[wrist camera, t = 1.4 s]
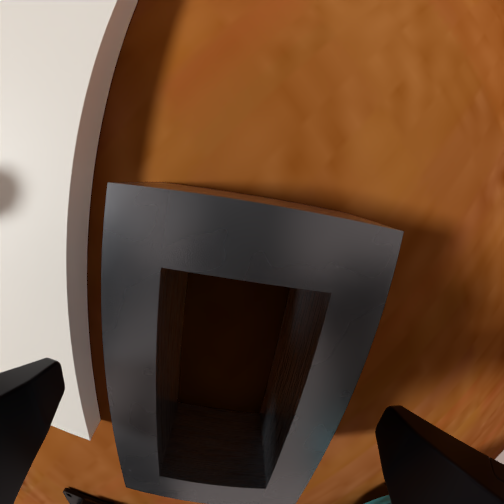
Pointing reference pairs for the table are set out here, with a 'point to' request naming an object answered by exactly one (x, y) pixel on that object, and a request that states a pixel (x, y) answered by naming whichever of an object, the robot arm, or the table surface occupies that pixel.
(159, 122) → the table surface
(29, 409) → the robot arm
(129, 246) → the steel link
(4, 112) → the keeper board
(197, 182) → the table surface
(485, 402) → the table surface
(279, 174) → the table surface
